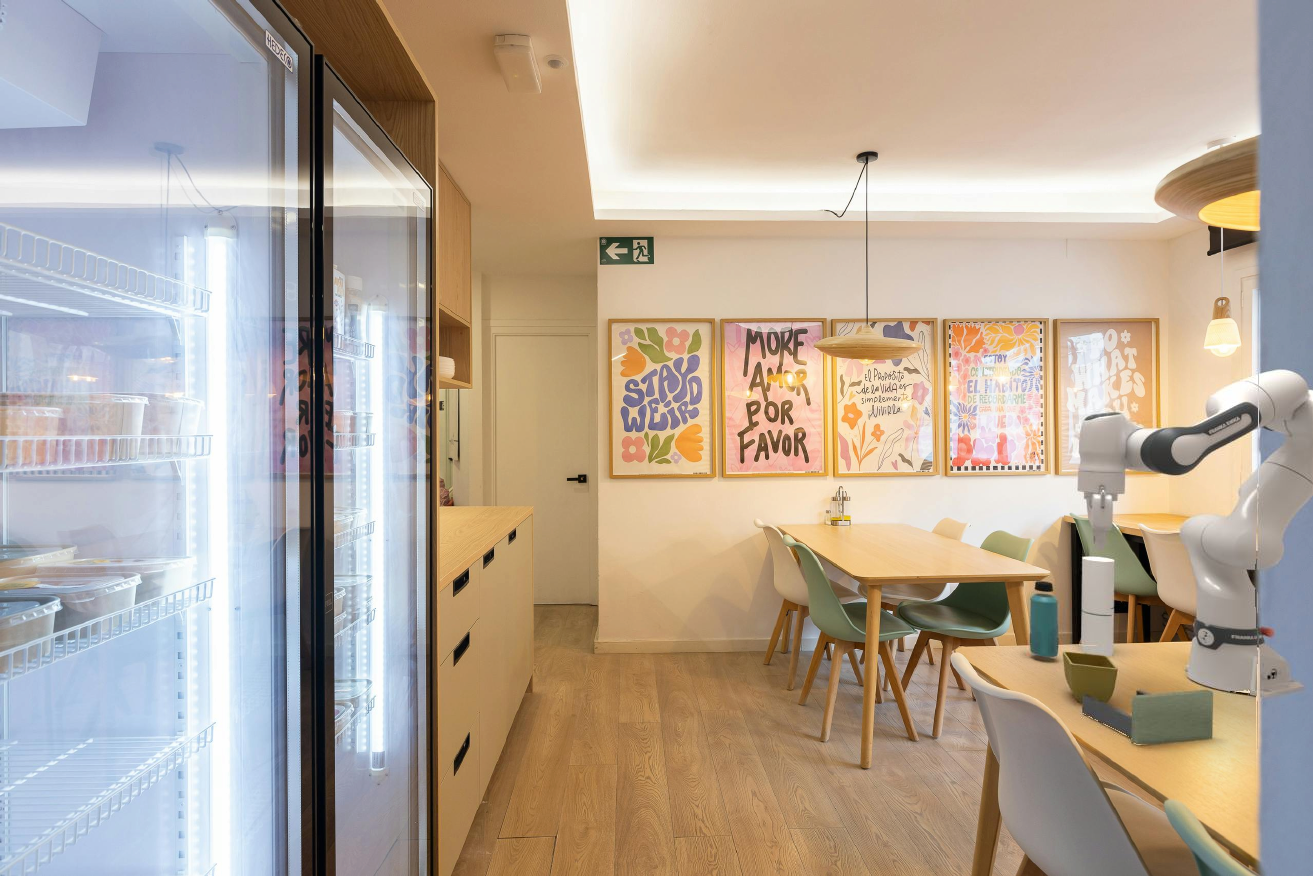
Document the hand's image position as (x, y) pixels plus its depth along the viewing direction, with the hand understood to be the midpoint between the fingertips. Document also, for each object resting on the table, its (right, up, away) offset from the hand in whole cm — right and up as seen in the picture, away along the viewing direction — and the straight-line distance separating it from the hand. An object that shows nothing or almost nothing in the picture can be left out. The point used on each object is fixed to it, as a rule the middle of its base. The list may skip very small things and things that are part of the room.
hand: (1098, 546), depth 150 cm
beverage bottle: (+1, -33, +24) cm, 41 cm away
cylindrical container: (+19, -33, +29) cm, 48 cm away
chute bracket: (-2, -34, -15) cm, 37 cm away
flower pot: (-4, -34, -3) cm, 34 cm away
